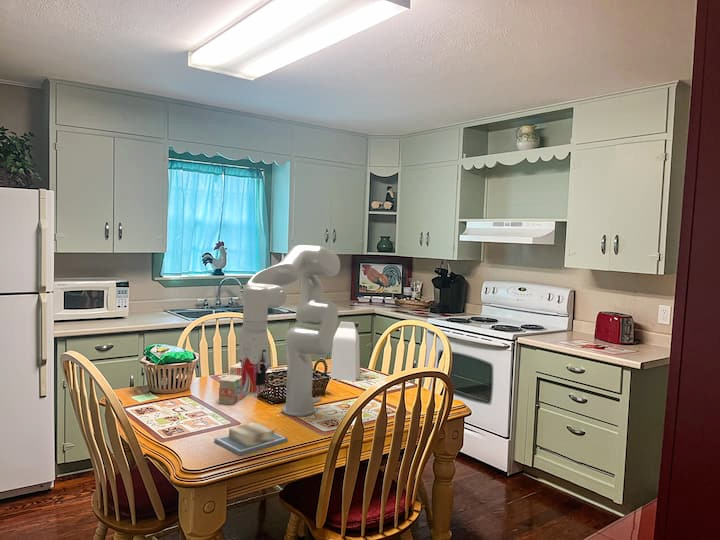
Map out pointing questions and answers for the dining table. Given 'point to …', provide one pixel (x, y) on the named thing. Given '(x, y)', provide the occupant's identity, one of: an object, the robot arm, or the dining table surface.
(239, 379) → the stack of blocks
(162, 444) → the dining table surface
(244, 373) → the soda can
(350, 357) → the milk
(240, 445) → the butter dish
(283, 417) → the dining table surface
